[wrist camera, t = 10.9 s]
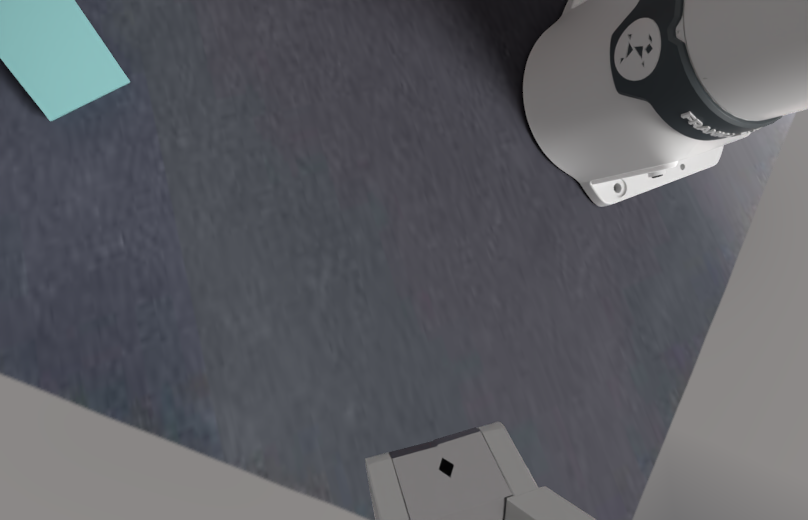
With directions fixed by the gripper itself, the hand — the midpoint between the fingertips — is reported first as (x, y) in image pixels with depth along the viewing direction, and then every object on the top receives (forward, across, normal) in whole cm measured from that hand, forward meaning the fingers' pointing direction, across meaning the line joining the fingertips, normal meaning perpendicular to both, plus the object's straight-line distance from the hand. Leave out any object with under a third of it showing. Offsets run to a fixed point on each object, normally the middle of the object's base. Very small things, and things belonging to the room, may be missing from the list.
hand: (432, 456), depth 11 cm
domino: (+29, +12, -2) cm, 31 cm away
